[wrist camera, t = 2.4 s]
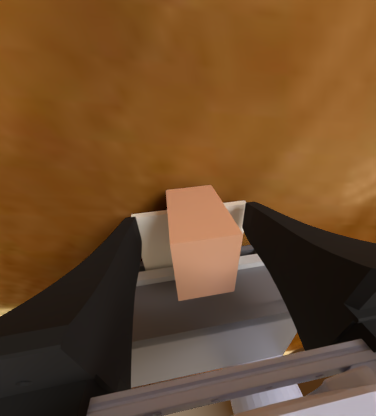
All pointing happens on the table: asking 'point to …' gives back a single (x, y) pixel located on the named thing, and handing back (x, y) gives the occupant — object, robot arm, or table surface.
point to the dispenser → (206, 324)
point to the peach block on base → (194, 240)
